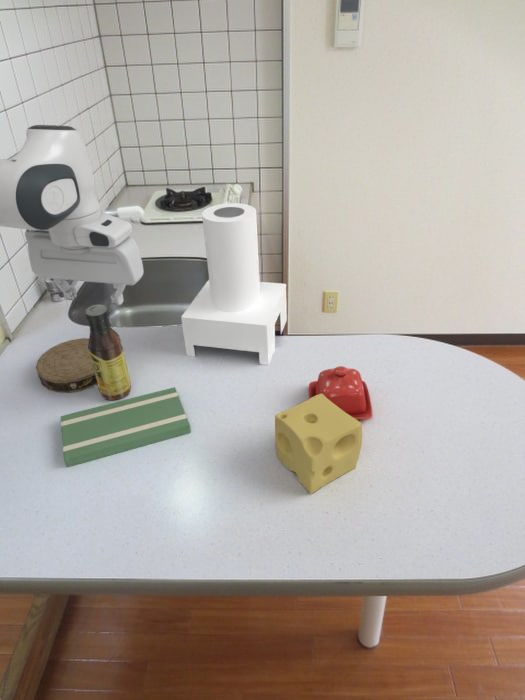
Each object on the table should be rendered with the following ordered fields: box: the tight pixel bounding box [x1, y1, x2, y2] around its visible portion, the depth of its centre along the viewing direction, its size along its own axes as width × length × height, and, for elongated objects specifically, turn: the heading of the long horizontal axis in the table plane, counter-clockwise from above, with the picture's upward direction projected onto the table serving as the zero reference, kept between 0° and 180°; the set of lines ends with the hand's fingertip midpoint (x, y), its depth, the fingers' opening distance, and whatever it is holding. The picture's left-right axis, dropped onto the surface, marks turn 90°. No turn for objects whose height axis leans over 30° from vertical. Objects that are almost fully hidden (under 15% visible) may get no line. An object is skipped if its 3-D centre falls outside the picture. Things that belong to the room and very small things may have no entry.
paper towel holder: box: [180, 202, 288, 366], centre depth 114 cm, size 19×19×30 cm
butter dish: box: [308, 365, 373, 420], centre depth 99 cm, size 12×12×8 cm
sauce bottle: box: [84, 303, 132, 401], centre depth 101 cm, size 7×6×20 cm
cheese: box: [274, 394, 363, 495], centre depth 86 cm, size 10×11×10 cm
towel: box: [60, 386, 192, 468], centre depth 97 cm, size 22×12×2 cm, turn 111°
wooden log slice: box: [35, 337, 98, 393], centre depth 113 cm, size 16×16×3 cm
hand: (94, 301), depth 95 cm, fingers open, 8 cm apart
